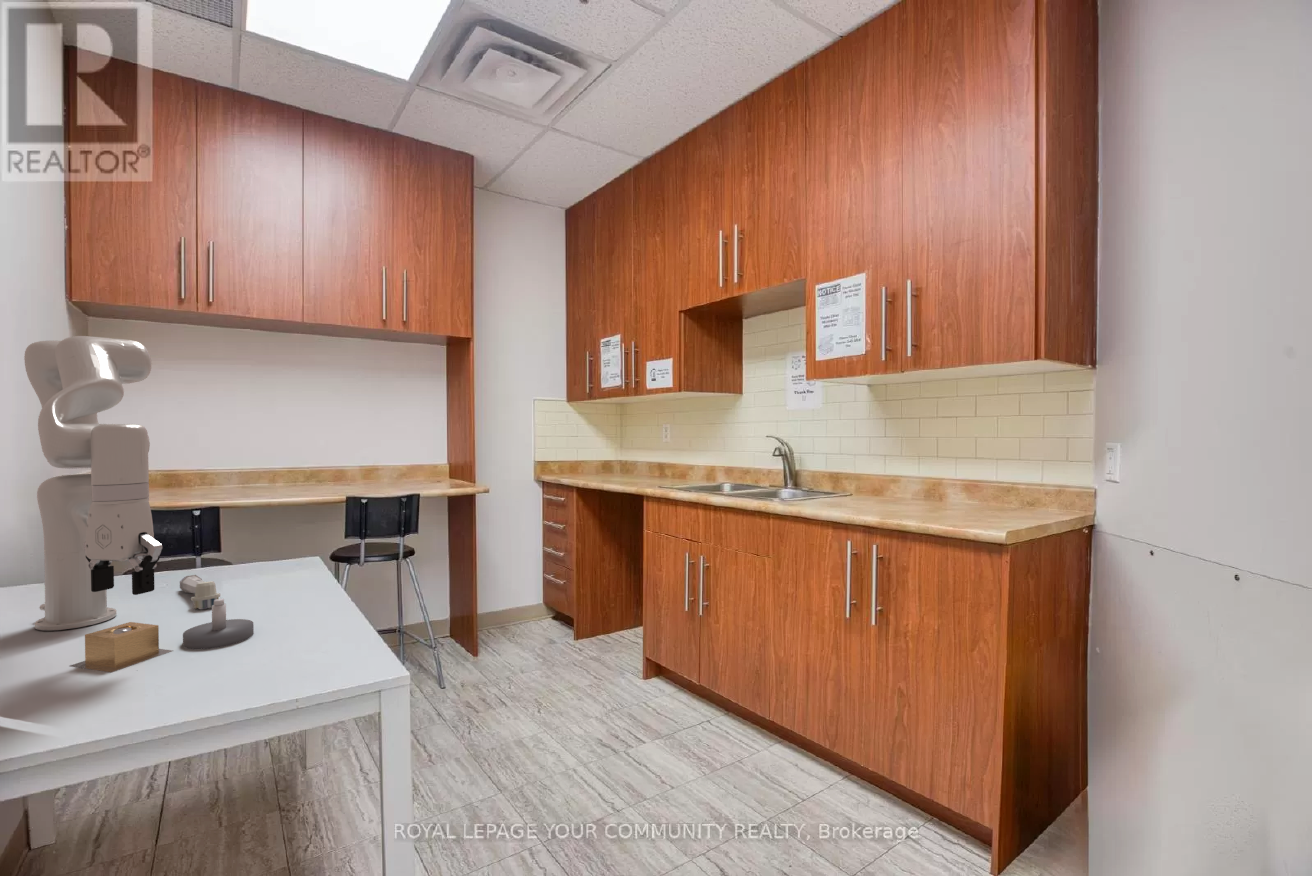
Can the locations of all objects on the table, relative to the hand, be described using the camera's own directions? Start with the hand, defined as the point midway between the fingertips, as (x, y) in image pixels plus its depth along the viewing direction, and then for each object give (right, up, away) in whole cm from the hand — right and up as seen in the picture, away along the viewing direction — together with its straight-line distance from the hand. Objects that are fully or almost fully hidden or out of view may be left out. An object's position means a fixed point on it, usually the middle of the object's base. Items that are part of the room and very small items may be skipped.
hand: (122, 591), depth 105 cm
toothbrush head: (-18, -13, +40) cm, 46 cm away
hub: (+9, -13, +10) cm, 19 cm away
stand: (-1, -13, +1) cm, 13 cm away
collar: (-1, -12, 0) cm, 12 cm away
